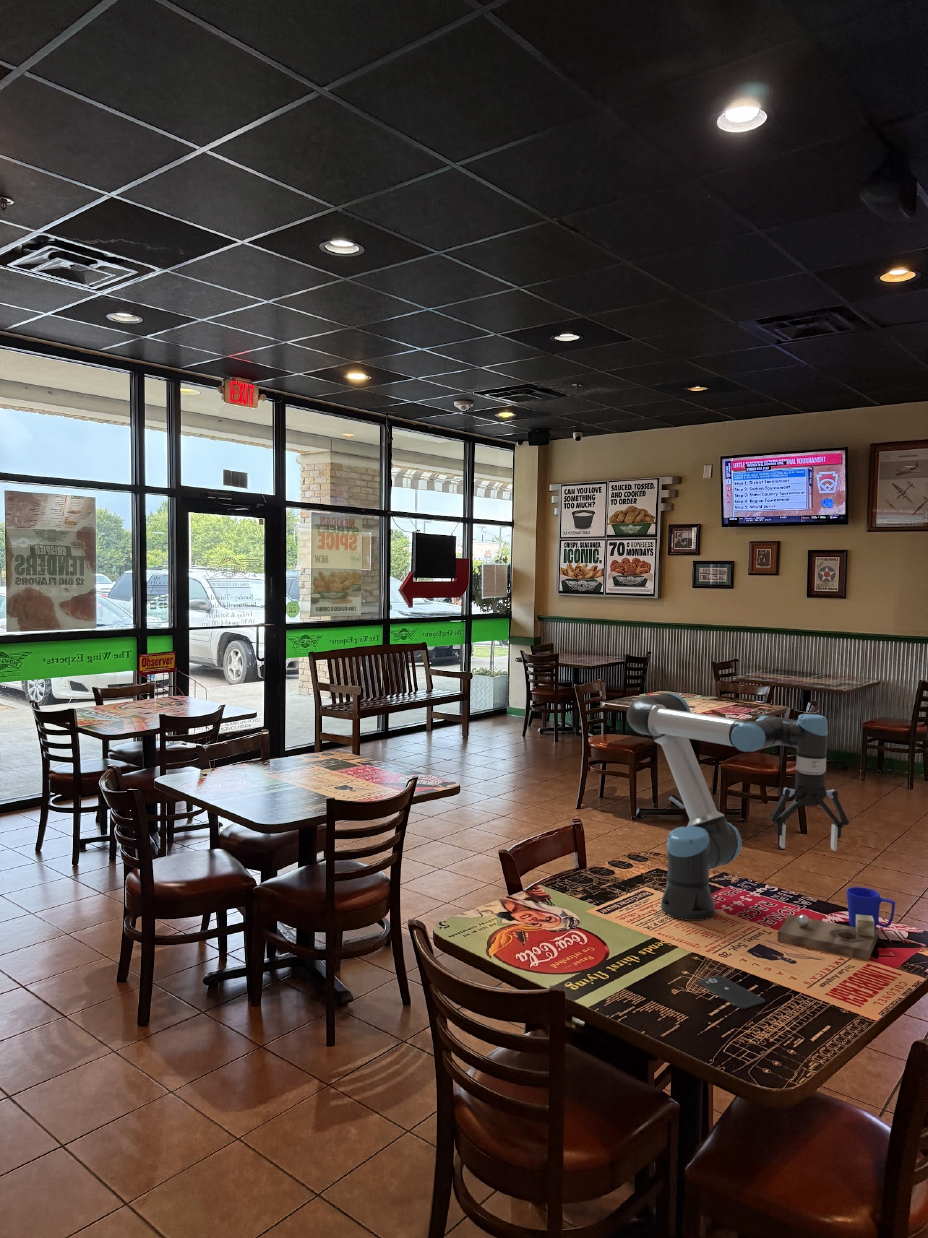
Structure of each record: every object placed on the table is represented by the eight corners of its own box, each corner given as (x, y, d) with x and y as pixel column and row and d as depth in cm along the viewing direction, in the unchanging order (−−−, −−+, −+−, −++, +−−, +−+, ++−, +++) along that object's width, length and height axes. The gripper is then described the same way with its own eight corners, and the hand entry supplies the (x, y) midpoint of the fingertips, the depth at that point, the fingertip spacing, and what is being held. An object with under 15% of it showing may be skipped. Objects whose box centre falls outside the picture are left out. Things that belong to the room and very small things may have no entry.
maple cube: (857, 935, 224) (857, 920, 223) (855, 929, 227) (855, 914, 227) (874, 936, 222) (874, 921, 222) (872, 931, 226) (872, 916, 226)
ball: (795, 927, 229) (795, 916, 229) (798, 923, 231) (798, 912, 231) (808, 930, 227) (808, 918, 227) (810, 926, 230) (810, 914, 229)
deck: (777, 941, 226) (777, 931, 226) (789, 923, 238) (789, 914, 238) (868, 960, 214) (868, 950, 214) (876, 941, 226) (876, 931, 226)
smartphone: (719, 977, 206) (719, 974, 206) (767, 1004, 193) (767, 1000, 193) (695, 984, 203) (695, 981, 203) (742, 1011, 189) (742, 1008, 189)
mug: (891, 940, 226) (891, 903, 226) (843, 929, 234) (843, 893, 233) (897, 930, 233) (898, 894, 232) (850, 920, 240) (850, 885, 240)
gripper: (767, 773, 229) (764, 850, 231) (863, 776, 227) (860, 855, 228) (760, 766, 237) (757, 841, 238) (853, 770, 234) (850, 846, 236)
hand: (807, 848), depth 233 cm, fingers open, 13 cm apart
